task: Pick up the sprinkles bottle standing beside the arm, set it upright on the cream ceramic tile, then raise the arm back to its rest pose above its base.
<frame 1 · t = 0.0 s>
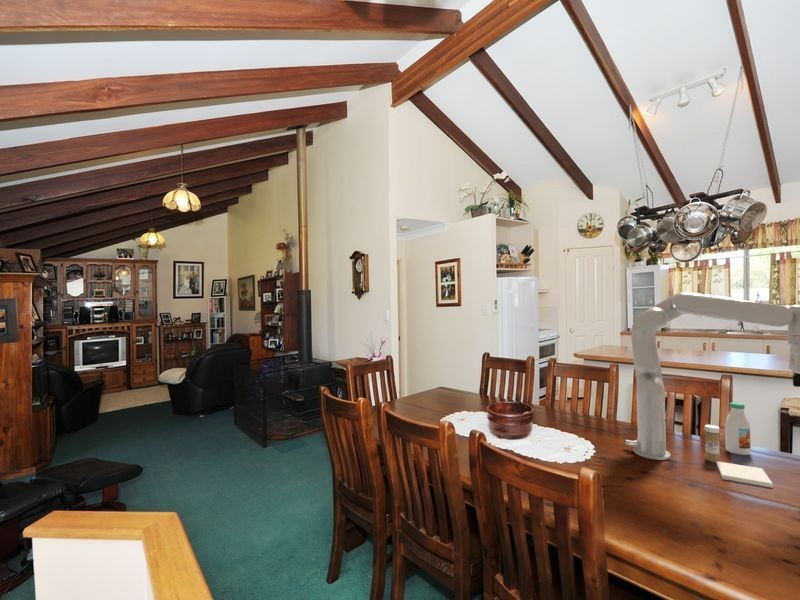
milk bottle: (737, 452, 158), on the table
sprinkles bottle: (712, 461, 151), on the table
ceramic tile: (742, 475, 138), on the table
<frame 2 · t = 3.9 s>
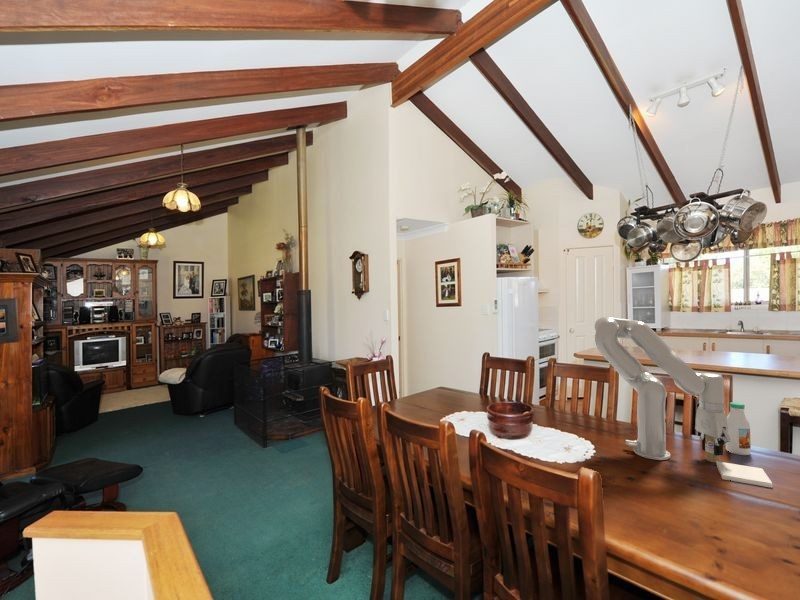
hand: (712, 451, 151), 3 cm above the table, tool pointing down, fingers closed on sprinkles bottle, 4 cm apart
sprinkles bottle: (712, 461, 151), on the table, touching gripper
everything else where it was.
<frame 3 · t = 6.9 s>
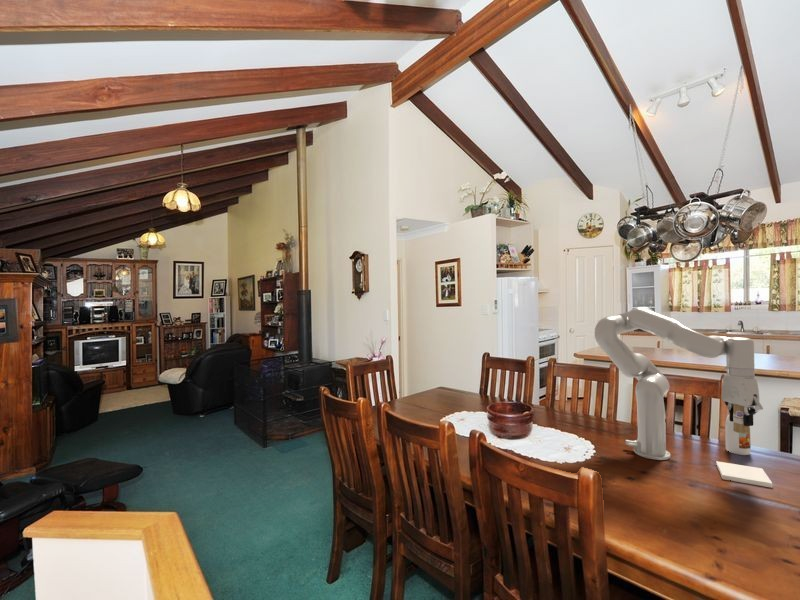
hand: (741, 422, 138), 19 cm above the table, tool pointing down, fingers closed on sprinkles bottle, 4 cm apart
sprinkles bottle: (741, 432, 138), point 15 cm above the table, touching gripper
everything else where it was.
when the fingers open (7 cm above the table, at t = 9.8 s): sprinkles bottle drops 2 cm, resting on ceramic tile.
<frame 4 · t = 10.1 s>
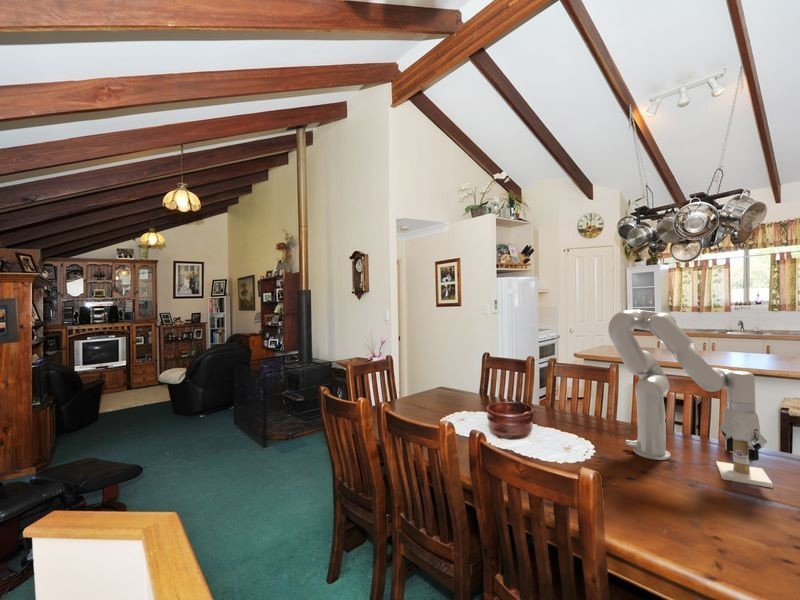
hand: (742, 455, 138), 7 cm above the table, tool pointing down, fingers open, 7 cm apart
sprinkles bottle: (741, 471, 138), point 1 cm above the table, touching ceramic tile
everything else where it was.
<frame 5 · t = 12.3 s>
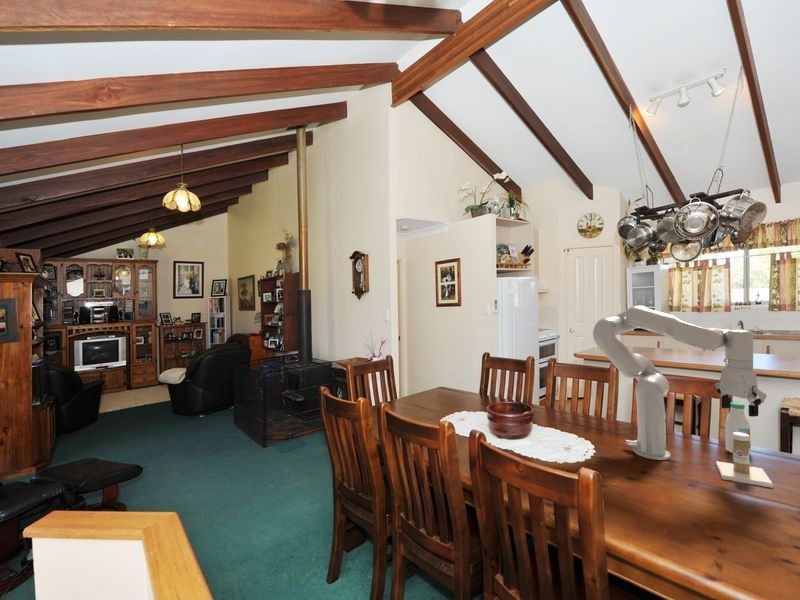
hand: (739, 412, 138), 23 cm above the table, tool pointing down, fingers open, 9 cm apart
nothing on the table moved.
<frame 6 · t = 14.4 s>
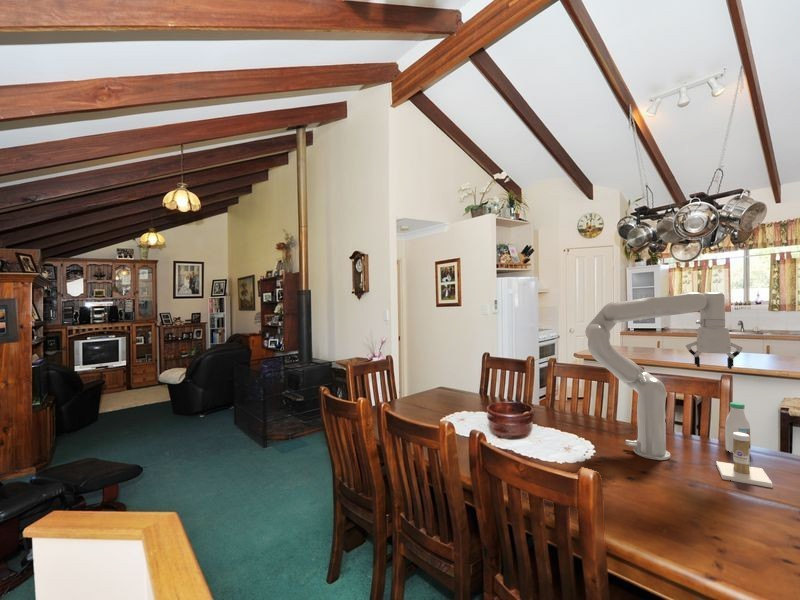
hand: (713, 367, 151), 36 cm above the table, tool pointing down, fingers open, 9 cm apart
nothing on the table moved.
at the end: sprinkles bottle inside the target area on the ceramic tile (0.3 cm from its centre), point 1.3 cm above the ceramic tile's base; sprinkles bottle tilted 0°; the gripper is holding nothing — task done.
